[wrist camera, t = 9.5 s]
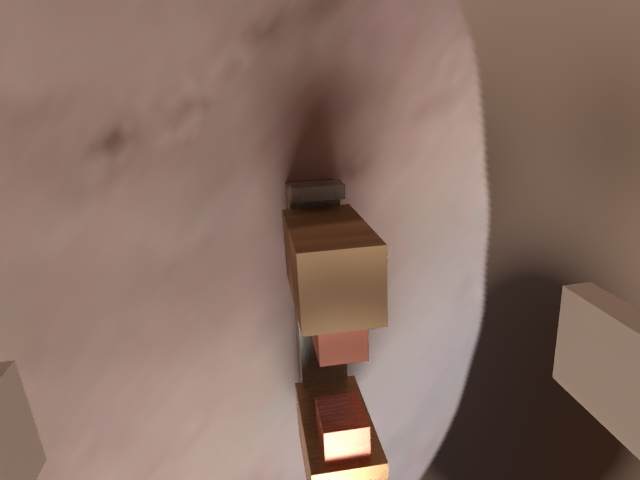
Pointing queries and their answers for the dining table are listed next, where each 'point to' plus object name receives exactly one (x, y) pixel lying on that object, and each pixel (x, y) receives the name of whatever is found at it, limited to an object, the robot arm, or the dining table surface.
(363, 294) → the walnut finger
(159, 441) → the dining table surface
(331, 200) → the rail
